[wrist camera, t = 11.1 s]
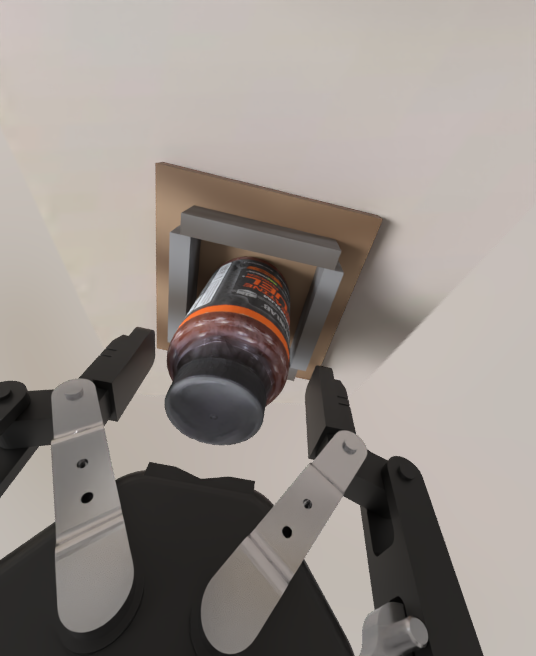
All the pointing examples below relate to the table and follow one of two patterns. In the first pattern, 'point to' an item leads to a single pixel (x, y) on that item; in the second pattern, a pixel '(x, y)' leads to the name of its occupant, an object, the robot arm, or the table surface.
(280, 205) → the collar holder
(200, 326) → the supplement bottle
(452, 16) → the table surface
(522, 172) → the table surface
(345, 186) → the table surface
